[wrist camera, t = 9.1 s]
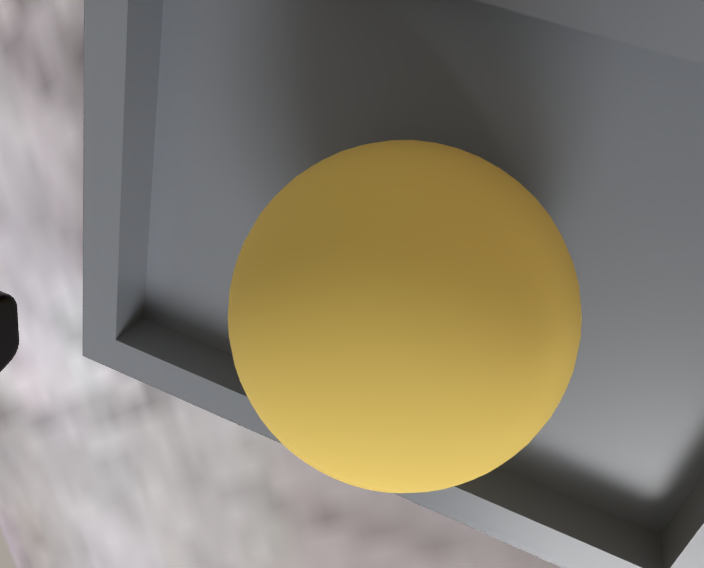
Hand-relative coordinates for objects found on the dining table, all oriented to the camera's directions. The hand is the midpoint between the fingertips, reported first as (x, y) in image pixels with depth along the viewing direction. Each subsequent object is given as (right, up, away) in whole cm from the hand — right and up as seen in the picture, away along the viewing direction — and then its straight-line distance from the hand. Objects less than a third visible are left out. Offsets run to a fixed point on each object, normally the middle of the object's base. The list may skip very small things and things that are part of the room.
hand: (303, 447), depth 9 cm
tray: (+3, +3, +6) cm, 8 cm away
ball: (+2, +2, +3) cm, 4 cm away
